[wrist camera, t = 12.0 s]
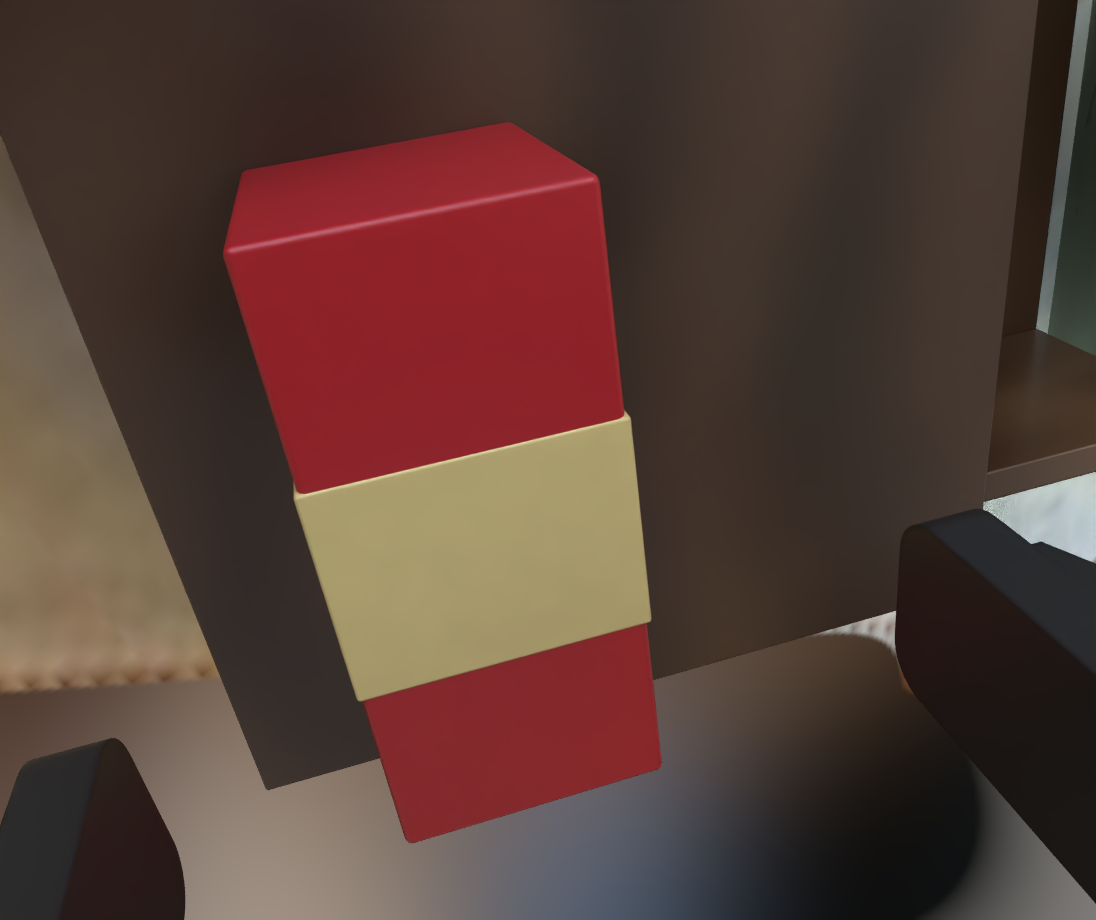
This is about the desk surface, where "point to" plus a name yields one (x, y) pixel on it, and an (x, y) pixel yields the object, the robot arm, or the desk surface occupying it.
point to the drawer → (1079, 290)
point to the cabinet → (634, 264)
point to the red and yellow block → (459, 459)
